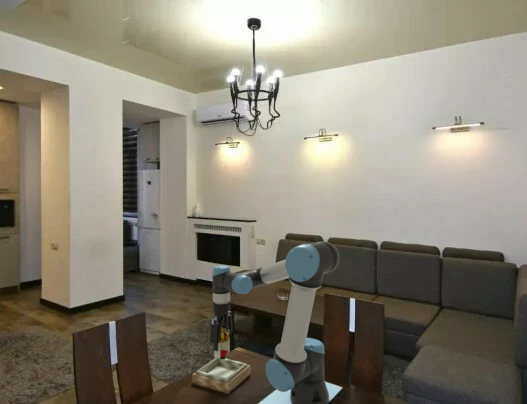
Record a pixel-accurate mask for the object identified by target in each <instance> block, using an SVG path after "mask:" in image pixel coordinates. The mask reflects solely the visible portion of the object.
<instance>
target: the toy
mask: <svg viewBox="0 0 527 404" xmlns="http://www.w3.org/2000/svg"><path fill="white" fill-rule="evenodd" d="M224 330H225V331H224ZM227 330H228V329H227ZM227 330H226V328H224V329H223V327H221V333H220V339H219V343H220V358H219V359H225V358H226V355H227V356H228V355H229V354H230V352H228V351H226V350H224V349H226V348H227V347H228V345H230V343H229V335H230V331H229V330H228V331H229V333H228V332H227ZM224 332H225V333H224Z"/></svg>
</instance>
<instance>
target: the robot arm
mask: <svg viewBox="0 0 527 404" xmlns="http://www.w3.org/2000/svg"><path fill="white" fill-rule="evenodd" d="M339 264H340V253H339V250H338V248H337V247H336V246H335V245H334V244H332V243H331V242H328V241H317V242H312V243H302V244H299V245H297V246H294V247H293V248H292V249H290V251H288V253H287V255H286V257H285V259H283V260H280V261H277V262H274V263H272V264H268V265H266V266H262V267H260V268H256V269H253V270H247V271H243V272H239V273H235V272H231V267H230V266H228V265H225V264H222V265H216V266H213V268H212V276H211V277H212V311H213V312H214V317H213V319H210V320H209V322H210V333H209V334H210V336H209V342H210V344H213V357H214V359H215V358H220V343H219V339H220V333H221V328H223V329H224V328H226V330H227V329H228V330H229V331H230V335H229V345H228V347H227V348H226V349H224V350H226V351H228V352H229V353H230V351H231V350H230V346H231V345H230V344H231V343H230V341H231V339H230V337H232V336H233V333H234V331H233V311H230V310H231V302H230V301H231V292H232V293H236V294H240V295H247V294H248V293H249V292H251V290H252V289H254V288H258V287H262V286H267V285H269V284H273V283H276V282H280V281H283V280H287V279H288V281H289V282H290V284H291V288H290V291H289V292H290V293H289V298H288V305H287V308H286V309H287V310H286V312H285V313H286V314H285V320H284V324H283V330H282V335H281V340H280V342H279V343H278V344H277V345H276V346H275V349H274V353H273V355H274V356H273V357H272V358H271V359H269V360H268V361H267V362H266V365H265V374H266V377H267V379H268V381H269V383H270V385H271V386H272V387H273V388H274V389H275V390H276V391H279V392H281V393H286V392H288V391H290V394H289V397H290V402H291V403H292V404H329V402H330V395H329V394H330V393H329V390H328V387H327V384H326V381H325V354H326V352H325V346H324V343H323V342H322V341H320V340H319V339H316V338H312V337H308V331H309V326H310V321H311V317H312V312H313V308H314V301H315V297H316V291H317V290H318V289H320V288H322V286H323V280H324V276H325V275H328V274H329V273H332V272H333V271H335V270H336V269H337V267H338V266H339ZM228 330H227V332H228V333H229V331H228ZM224 331H225V330H224ZM224 331H223V333H225V332H224Z"/></svg>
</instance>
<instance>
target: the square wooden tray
mask: <svg viewBox="0 0 527 404" xmlns="http://www.w3.org/2000/svg"><path fill="white" fill-rule="evenodd" d="M250 375H251V364H250V365H249V364H247V363H245V362H241V361H238V360H232V359H229V358H226V357H225V359H219V358H215V357H214V358H213V359H212V360H211V361H209V362H208V363H206V364H204V365H203V366H202V367H200V368H199V369H198V370H196V371H195V372H193V373H192V384H194V385H197V386H200V387H203V388H205V389H206V388H207V389H210V390H213V391H217V392H219V393H222V394H226V395H229V394H230V393H231V392H232V391H233V390H235V389H236V388H237V387H238V386H239V385H241V383H242V382H243V381H245V380H246V379H248V377H249V376H250Z"/></svg>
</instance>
